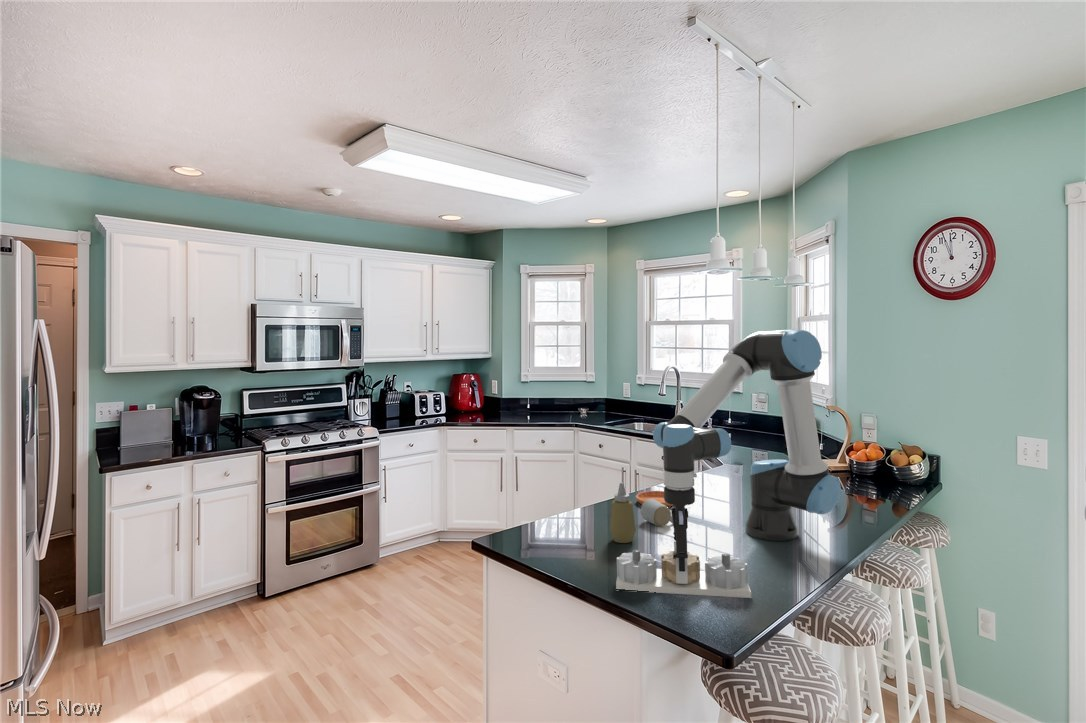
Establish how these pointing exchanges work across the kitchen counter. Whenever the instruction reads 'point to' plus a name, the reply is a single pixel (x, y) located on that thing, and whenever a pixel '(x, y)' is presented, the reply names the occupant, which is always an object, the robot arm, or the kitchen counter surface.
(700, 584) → the gear board
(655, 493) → the saucer
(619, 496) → the squeeze bottle
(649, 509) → the ceramic mug
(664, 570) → the wooden gear
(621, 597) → the kitchen counter surface
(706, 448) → the robot arm
